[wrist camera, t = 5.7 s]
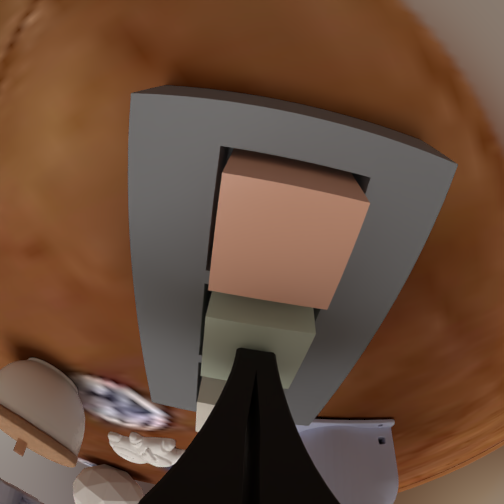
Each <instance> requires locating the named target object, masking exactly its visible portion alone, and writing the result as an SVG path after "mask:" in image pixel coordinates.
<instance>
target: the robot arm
mask: <svg viewBox="0 0 504 504" xmlns="http://www.w3.org/2000/svg"><path fill="white" fill-rule="evenodd" d="M394 424H395V422H394V420H393V419H385V420H329V419H314V420H313V421H312V422H311V424H310V425H309V426H306V425H295V423H294V420H293V418H292V415H291V412H290V409H289V406H288V403H287V400H286V397H285V394H284V391H283V387H282V383H281V379H280V375H279V371H278V366H277V360H276V355H275V354H274V353H273V352H266V351H259V350H253V349H247V348H238V349H237V350H236V354H235V359H234V363H233V366H232V369H231V372H230V374H229V377H228V379H227V382H226V384H225V386H224V388H223V390H222V392H221V395H220V397H219V399H218V400H217V402H216V404H215V406H214V408H213V409H212V411H211V413H210V415H209V416H208V418H207V420H206V421H205V423H204V425H203V426H202V428H201V429H200V431H199V432H198V434H197V435H196V437H195V438H194V439H193V441H192V442H191V444H190V445H189V446H188V448H187V449H186V450H185V452H184V453H183V454H182V455H181V457H180V458H179V459H178V460H177V462H176V463H175V464H174V465H173V466H172V467H171V469H170V470H169V471H168V472H167V473H166V474H165V475H164V477H163V478H162V479H161V480H160V481H159V482H158V483H157V484H156V485H155V486H154V487H153V488H152V489H151V490H150V491H149V492H148V493H147V494H146V495H145V496H144V497H143V498H142V499H141V500H140V501H139V503H138V504H393V502H394V500H395V498H396V495H397V491H398V472H397V464H396V457H395V450H394V444H393V438H392V432H391V427H392V426H393V425H394ZM0 504H44V503H42V502H40V501H39V500H38V499H37V498H35V497H33V496H31V495H29V494H28V493H26V492H24V491H23V490H21V489H19V488H18V487H16V486H14V485H12V484H10V483H8V482H6V481H4V480H2V479H1V478H0Z"/></svg>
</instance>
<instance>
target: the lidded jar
mask: <svg viewBox="0 0 504 504" xmlns="http://www.w3.org/2000/svg"><path fill="white" fill-rule="evenodd" d="M84 428H85V415H84V410H83V406H82V403H81V400H80V398H79V396H78V389H77V387H76V385H75V384H74V383H73V381H72V380H71V379H70V378H69V377H67V376H66V375H65V374H64V373H63V372H61V371H60V370H59V369H57V368H56V367H54V366H53V365H51V364H49V363H47V362H45V361H43V360H41V359H38V358H34V357H31V358H28V360H20V361H15V362H12V363H10V364H8V365H6V366H5V367H3V368H2V369H1V370H0V429H1V430H2V431H4V432H5V433H6V434H8V435H9V436H10V437H12V438H13V439H15V440H16V441H17V442H16V445H15V447H14V451H15V452H16V453H18V454H19V455H21V456H23V455H24V452H25V449H26V447H27V448H29V449H30V450H32V451H34V452H36V453H38V454H40V455H41V456H43V457H45V458H47V459H49V460H51V461H54V462H56V463H59V464H61V465H64V466H67V467H75V466H76V463H77V460H78V458H77V456H78V453H79V450H80V447H81V443H82V440H83V435H84Z"/></svg>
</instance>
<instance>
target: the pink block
mask: <svg viewBox="0 0 504 504" xmlns="http://www.w3.org/2000/svg"><path fill="white" fill-rule="evenodd" d="M369 205H370V202H369V200H368V199H367V197H366V195H365V194H364V192H363V191H362V189H361V187H360V186H359V184H358V183H357V181H356V180H355V178H354V176H353V175H352V173H351V172H347V171H343V170H339V169H335V168H331V167H327V166H323V165H318V164H314V163H310V162H305V161H300V160H296V159H291V158H286V157H281V156H276V155H271V154H266V153H260V152H255V151H249V150H243V149H237V148H234V150H233V152H232V154H231V156H230V158H229V160H228V162H227V164H226V166H225V168H224V170H223V172H222V178H221V185H220V193H219V200H218V208H217V216H216V224H215V232H214V241H213V250H212V258H211V268H210V277H209V286H208V290H210V291H216V292H221V293H227V294H232V295H238V296H244V297H249V298H255V299H261V300H267V301H273V302H279V303H286V304H292V305H298V306H305V307H312V308H318V309H325V310H327V309H328V307H329V305H330V302H331V300H332V298H333V296H334V293H335V291H336V289H337V286H338V284H339V282H340V279H341V277H342V275H343V272H344V270H345V267H346V265H347V262H348V260H349V258H350V255H351V253H352V250H353V248H354V245H355V242H356V240H357V237H358V235H359V232H360V229H361V227H362V224H363V221H364V219H365V216H366V213H367V211H368V208H369Z"/></svg>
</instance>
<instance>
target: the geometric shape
mask: <svg viewBox="0 0 504 504" xmlns="http://www.w3.org/2000/svg"><path fill="white" fill-rule="evenodd" d="M73 496H74V500H75V504H138V503H139V501H140V500H141V499H142V498H143V491H142V488H141V487H140V486H139V485H138V484H137V483H136V482H135V481H134V480H133V478H132V477H131V476H130V475H129V474H128V473H127V472H126V471H123V470H120V469H117V468H114V467H111V466H109V465H106V464H102V465H98V466H93V467H88V468H84V469H83V470H82V472H81V473H80V474H79V475H78V476H77V477H76V479H75V481H74V483H73Z"/></svg>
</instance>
